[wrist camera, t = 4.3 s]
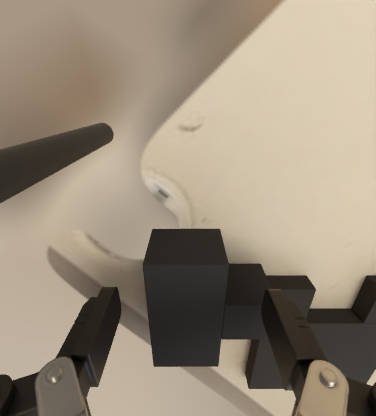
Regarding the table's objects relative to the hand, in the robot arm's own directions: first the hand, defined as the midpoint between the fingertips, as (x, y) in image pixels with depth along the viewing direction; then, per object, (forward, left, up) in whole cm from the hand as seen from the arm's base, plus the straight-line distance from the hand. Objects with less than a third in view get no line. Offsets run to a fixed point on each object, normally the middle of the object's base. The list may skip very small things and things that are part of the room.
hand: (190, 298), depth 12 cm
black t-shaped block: (+2, -4, -5) cm, 7 cm away
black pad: (+12, -10, -5) cm, 17 cm away
